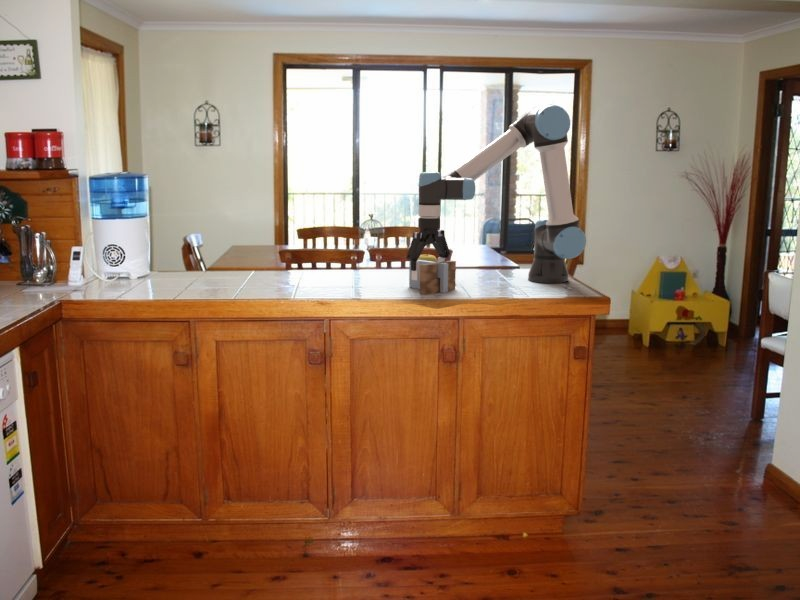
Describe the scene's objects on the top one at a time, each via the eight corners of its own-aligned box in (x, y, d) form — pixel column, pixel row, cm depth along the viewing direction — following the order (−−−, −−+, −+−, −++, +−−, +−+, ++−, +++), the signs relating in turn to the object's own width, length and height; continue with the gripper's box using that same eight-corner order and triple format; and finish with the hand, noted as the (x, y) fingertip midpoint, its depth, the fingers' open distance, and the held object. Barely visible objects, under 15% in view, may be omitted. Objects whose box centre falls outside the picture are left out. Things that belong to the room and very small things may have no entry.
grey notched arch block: (409, 287, 272) (409, 259, 270) (413, 286, 273) (414, 259, 271) (443, 293, 261) (443, 264, 259) (447, 292, 262) (448, 263, 261)
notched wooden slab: (449, 288, 270) (450, 260, 269) (455, 289, 269) (455, 261, 267) (419, 293, 259) (420, 264, 257) (424, 294, 257) (425, 265, 256)
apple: (438, 275, 299) (438, 255, 298) (413, 275, 299) (413, 254, 298) (437, 271, 309) (437, 252, 307) (413, 271, 309) (413, 251, 308)
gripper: (444, 214, 274) (443, 272, 278) (396, 218, 256) (395, 280, 260) (460, 216, 268) (459, 275, 272) (412, 219, 251) (411, 283, 255)
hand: (428, 277), depth 266 cm, fingers open, 13 cm apart
